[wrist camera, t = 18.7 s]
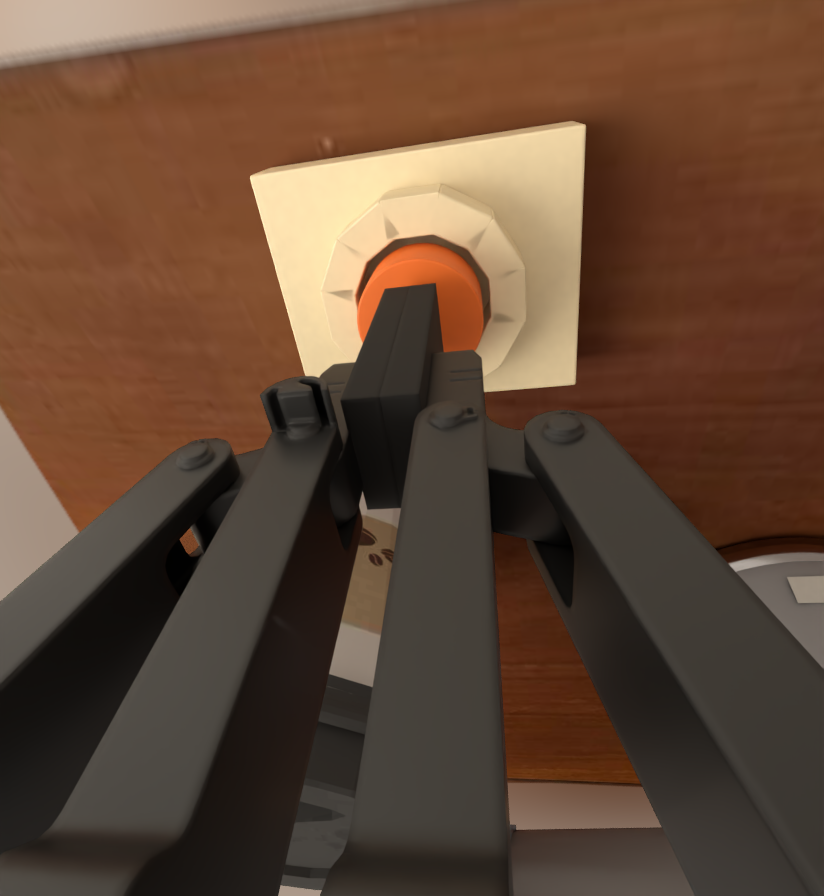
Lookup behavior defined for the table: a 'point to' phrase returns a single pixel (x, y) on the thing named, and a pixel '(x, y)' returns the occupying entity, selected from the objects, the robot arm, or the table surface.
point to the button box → (439, 241)
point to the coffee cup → (343, 710)
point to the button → (453, 291)
